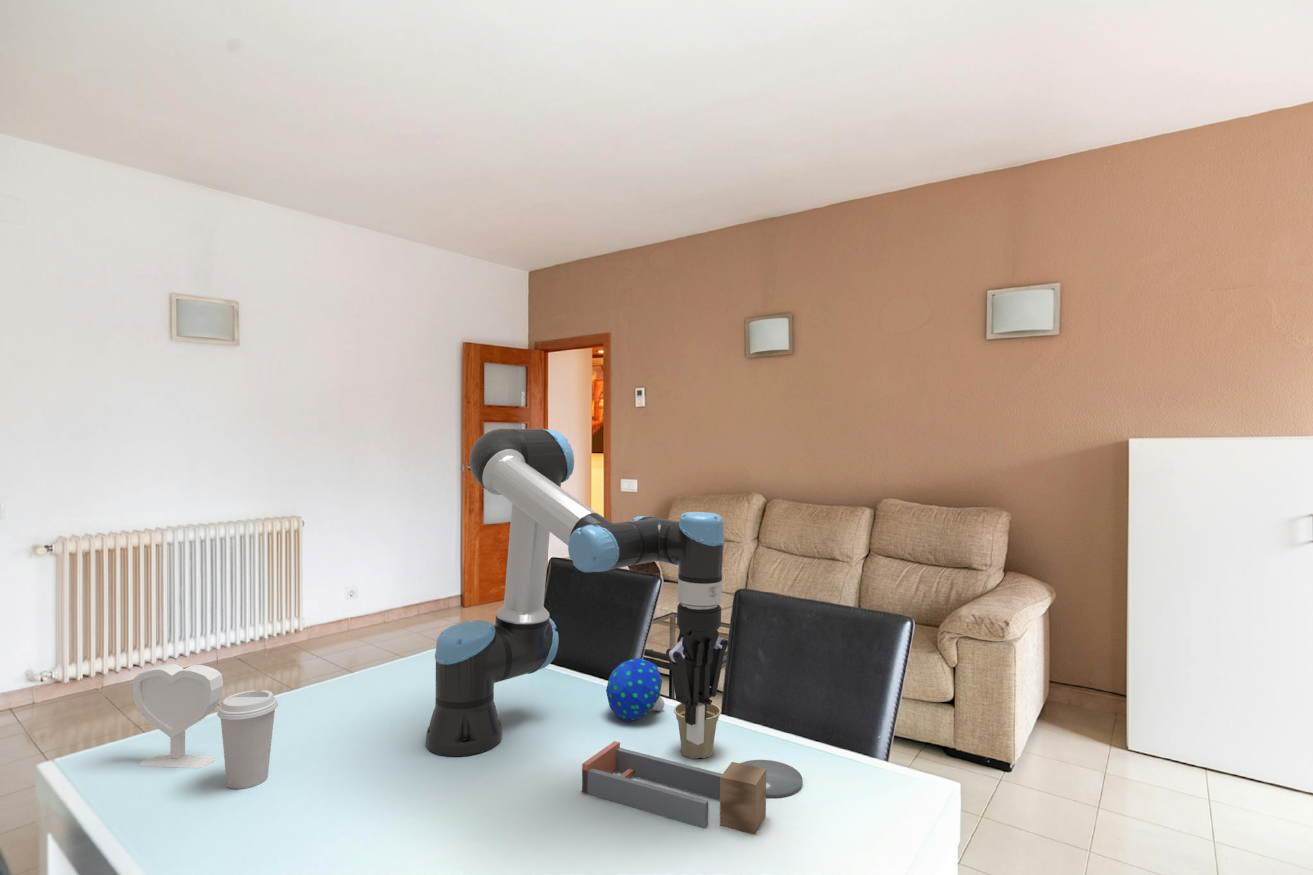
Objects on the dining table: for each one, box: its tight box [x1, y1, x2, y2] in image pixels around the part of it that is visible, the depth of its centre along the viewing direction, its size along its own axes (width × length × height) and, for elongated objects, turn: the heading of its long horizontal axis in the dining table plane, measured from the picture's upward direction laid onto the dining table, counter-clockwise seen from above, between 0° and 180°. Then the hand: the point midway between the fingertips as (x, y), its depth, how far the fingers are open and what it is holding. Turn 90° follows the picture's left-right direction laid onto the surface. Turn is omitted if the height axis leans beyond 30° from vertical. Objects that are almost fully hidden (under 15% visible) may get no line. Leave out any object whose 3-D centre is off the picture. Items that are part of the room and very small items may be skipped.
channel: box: [581, 740, 723, 830], centre depth 125 cm, size 24×11×5 cm, turn 61°
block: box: [719, 761, 767, 836], centre depth 117 cm, size 6×6×8 cm
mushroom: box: [605, 657, 665, 722], centre depth 161 cm, size 14×14×15 cm
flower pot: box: [673, 702, 722, 760], centre depth 142 cm, size 9×9×9 cm
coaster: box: [739, 759, 803, 799], centre depth 131 cm, size 13×13×1 cm
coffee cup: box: [216, 689, 279, 790], centre depth 129 cm, size 10×10×15 cm
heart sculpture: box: [132, 663, 224, 769], centre depth 136 cm, size 16×5×18 cm, turn 87°
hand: (695, 740), depth 121 cm, fingers closed
